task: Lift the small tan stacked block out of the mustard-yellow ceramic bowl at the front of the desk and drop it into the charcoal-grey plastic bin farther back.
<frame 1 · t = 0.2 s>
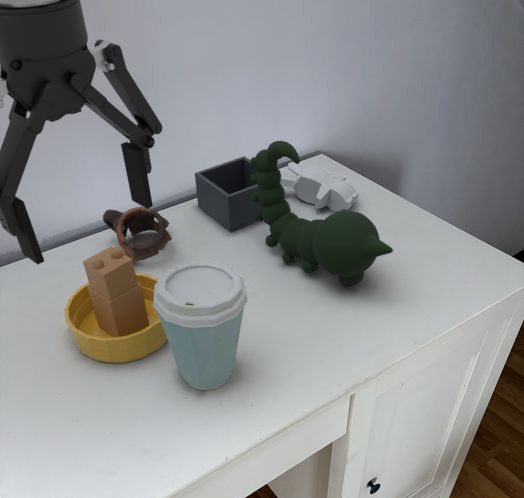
hand: (91, 229, 59), 21 cm above the table, tool pointing down, fingers open, 13 cm apart
pottery mug: (140, 248, 93), on the table
disposable coffee cup: (210, 373, 72), on the table
tan stacked block: (124, 325, 78), point 1 cm above the table, touching bowl
bin: (238, 209, 101), on the table
bowl: (124, 328, 79), on the table
bunny figurine: (315, 199, 103), on the table
toy figurine: (316, 267, 88), on the table
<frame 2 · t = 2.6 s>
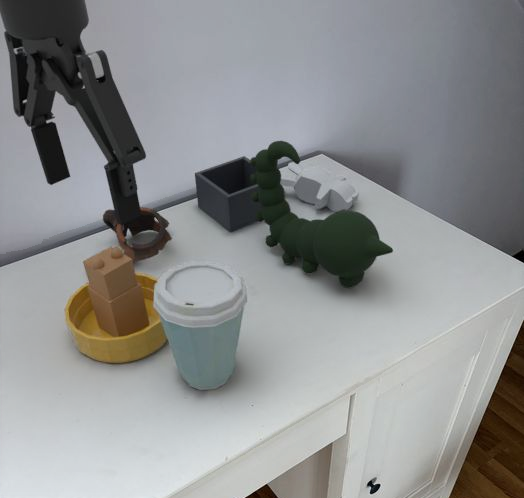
hand: (92, 198, 64), 20 cm above the table, tool pointing down, fingers open, 13 cm apart
nothing on the table moved.
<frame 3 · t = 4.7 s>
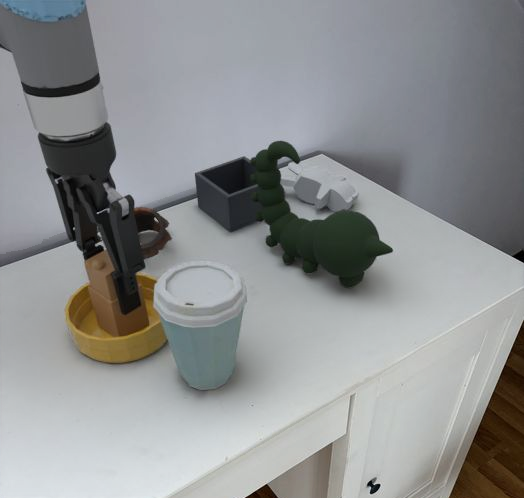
hand: (117, 299, 75), 5 cm above the table, tool pointing down, fingers closed on tan stacked block, 5 cm apart
tan stacked block: (124, 325, 78), point 1 cm above the table, touching bowl, gripper
everything else where it was.
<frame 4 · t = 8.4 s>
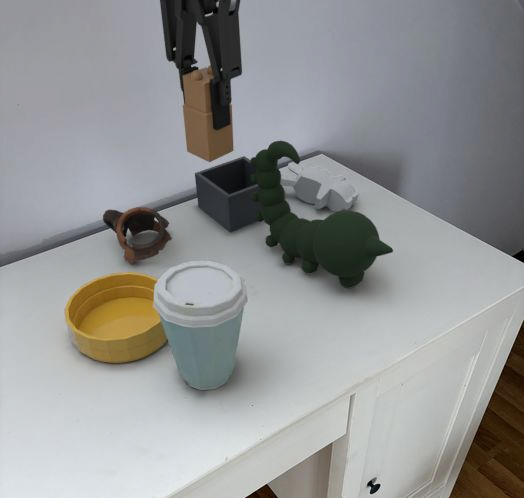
hand: (207, 120, 82), 19 cm above the table, tool pointing down, fingers closed on tan stacked block, 5 cm apart
tan stacked block: (210, 151, 85), point 14 cm above the table, touching gripper
everything else where it was.
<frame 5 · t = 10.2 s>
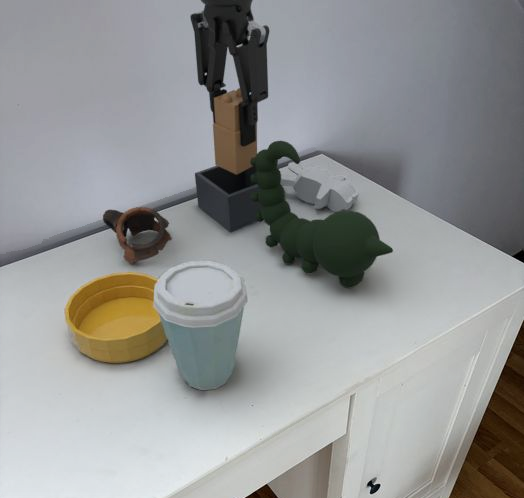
hand: (234, 137, 91), 13 cm above the table, tool pointing down, fingers closed on tan stacked block, 5 cm apart
tan stacked block: (236, 164, 95), point 9 cm above the table, touching gripper
everything else where it was.
when the fingers open (9 cm above the table, at t = 11.9 s): tan stacked block drops 4 cm, resting on bin.
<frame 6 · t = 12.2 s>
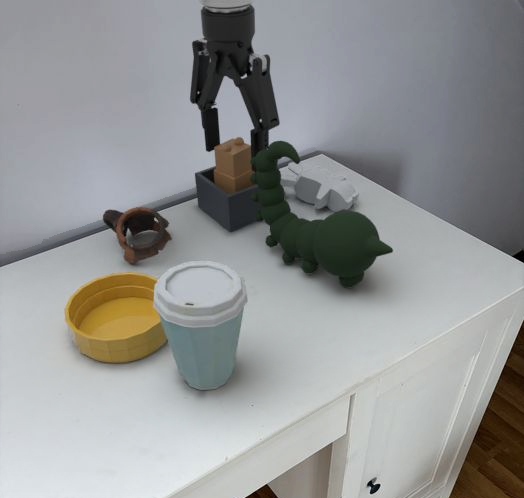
hand: (235, 158, 94), 10 cm above the table, tool pointing down, fingers open, 10 cm apart
tan stacked block: (236, 206, 100), point 1 cm above the table, touching bin
everything else where it was.
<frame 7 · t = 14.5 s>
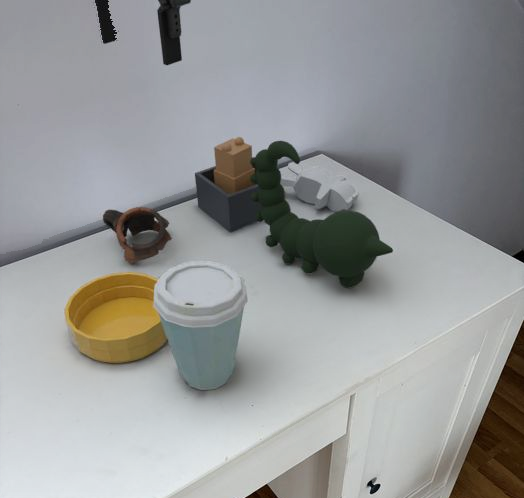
hand: (140, 51, 80), 27 cm above the table, tool pointing down, fingers open, 13 cm apart
nothing on the table moved.
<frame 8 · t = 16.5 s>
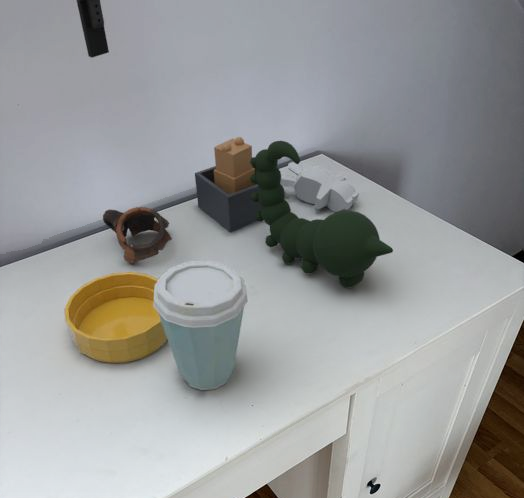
hand: (69, 44, 78), 29 cm above the table, tool pointing down, fingers open, 13 cm apart
nothing on the table moved.
at the end: tan stacked block inside the target area in the bin (0.5 cm from its centre), point 0.6 cm above the bin's base; the gripper is holding nothing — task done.
